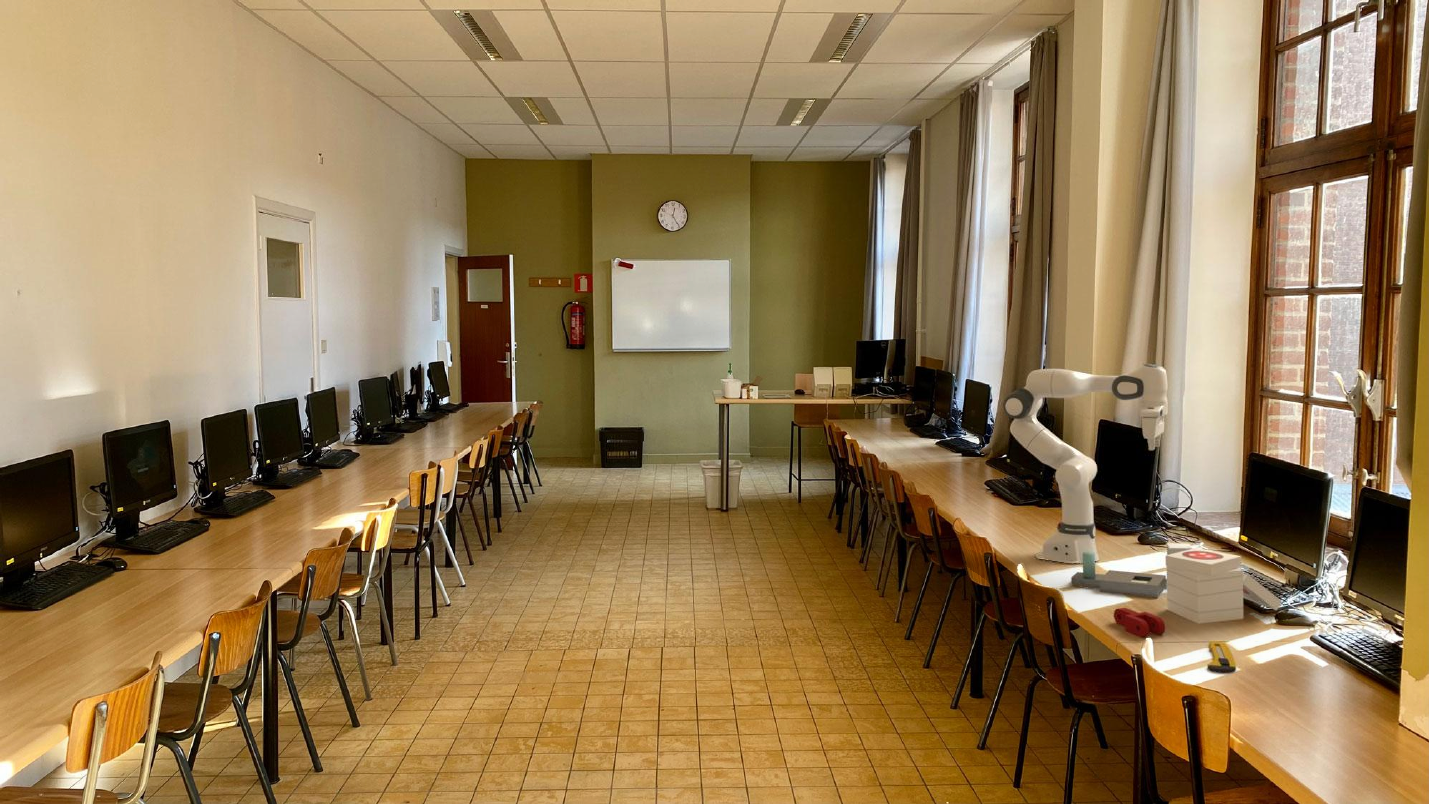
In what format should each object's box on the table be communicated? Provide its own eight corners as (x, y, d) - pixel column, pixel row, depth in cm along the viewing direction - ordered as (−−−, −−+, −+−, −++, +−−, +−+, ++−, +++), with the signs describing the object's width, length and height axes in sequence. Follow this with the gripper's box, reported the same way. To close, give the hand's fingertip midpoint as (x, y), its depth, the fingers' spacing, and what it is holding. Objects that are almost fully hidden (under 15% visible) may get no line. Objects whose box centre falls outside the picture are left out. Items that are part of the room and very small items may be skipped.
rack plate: (1069, 588, 324) (1068, 576, 324) (1079, 578, 336) (1079, 566, 335) (1157, 597, 308) (1157, 585, 308) (1165, 587, 320) (1165, 574, 319)
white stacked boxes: (1287, 616, 284) (1286, 557, 282) (1195, 626, 279) (1194, 566, 278) (1242, 599, 302) (1242, 543, 301) (1156, 608, 298) (1155, 551, 297)
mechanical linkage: (1165, 636, 273) (1164, 619, 272) (1144, 639, 271) (1143, 622, 271) (1127, 620, 288) (1126, 604, 288) (1107, 624, 286) (1106, 607, 286)
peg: (1081, 577, 327) (1081, 554, 326) (1084, 574, 330) (1084, 551, 329) (1093, 578, 324) (1093, 555, 324) (1096, 575, 327) (1096, 552, 327)
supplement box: (1190, 579, 328) (1190, 543, 327) (1193, 584, 321) (1193, 548, 320) (1167, 578, 330) (1166, 542, 329) (1169, 584, 323) (1169, 547, 322)
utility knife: (1208, 673, 244) (1208, 666, 244) (1199, 645, 265) (1198, 638, 265) (1239, 675, 241) (1238, 668, 241) (1226, 646, 262) (1226, 639, 262)
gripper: (1149, 406, 348) (1150, 444, 349) (1138, 412, 331) (1139, 451, 332) (1168, 407, 344) (1168, 444, 345) (1158, 412, 327) (1158, 452, 328)
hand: (1154, 448), depth 338 cm, fingers open, 8 cm apart
